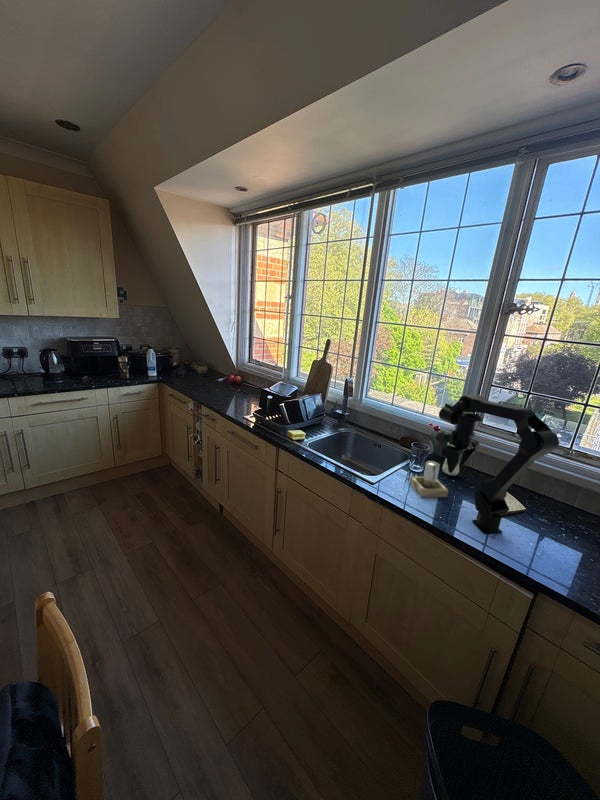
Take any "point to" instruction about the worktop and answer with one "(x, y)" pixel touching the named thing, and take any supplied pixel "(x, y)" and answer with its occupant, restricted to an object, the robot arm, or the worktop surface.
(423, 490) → the square wooden tray
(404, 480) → the worktop surface
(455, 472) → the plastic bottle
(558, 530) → the worktop surface
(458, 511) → the worktop surface
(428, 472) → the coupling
